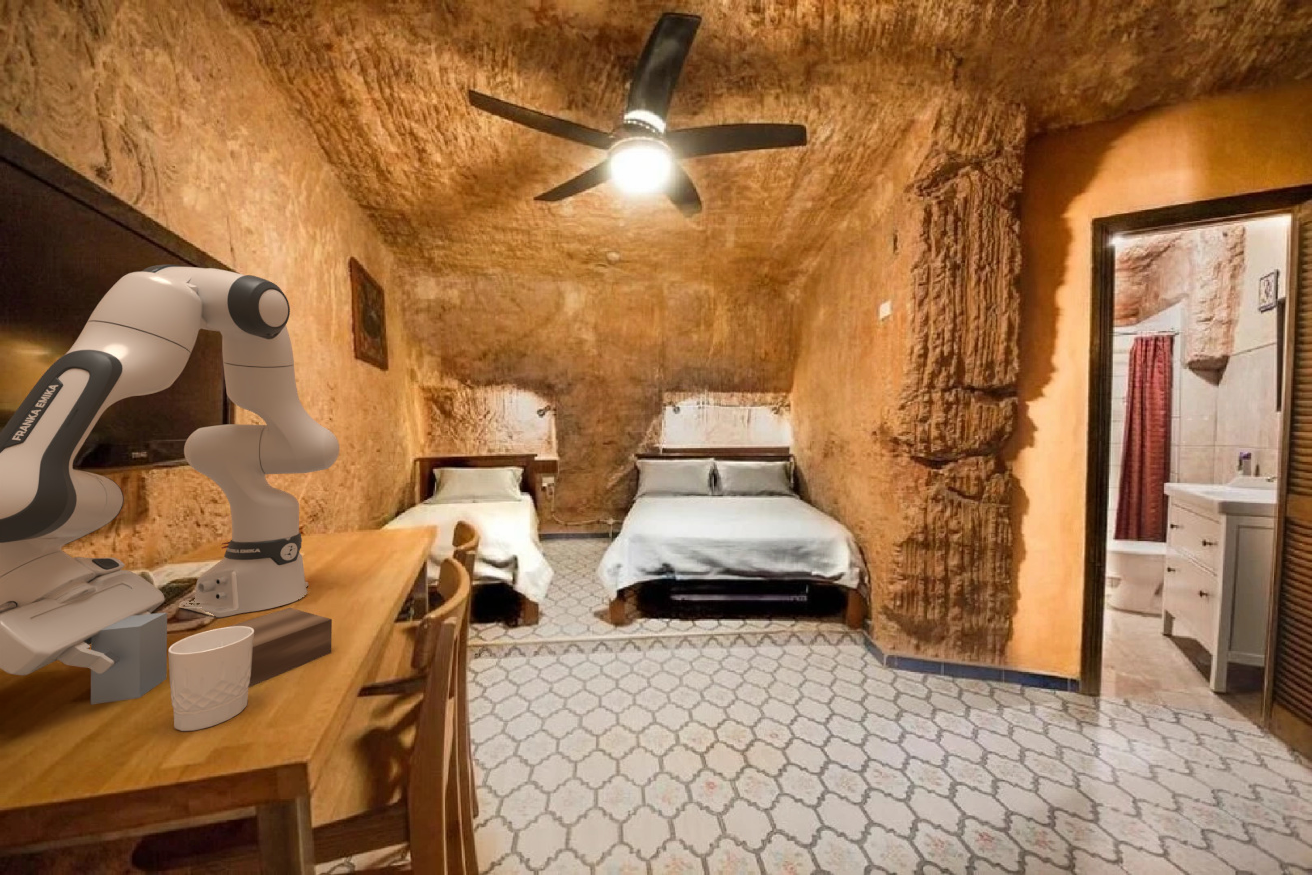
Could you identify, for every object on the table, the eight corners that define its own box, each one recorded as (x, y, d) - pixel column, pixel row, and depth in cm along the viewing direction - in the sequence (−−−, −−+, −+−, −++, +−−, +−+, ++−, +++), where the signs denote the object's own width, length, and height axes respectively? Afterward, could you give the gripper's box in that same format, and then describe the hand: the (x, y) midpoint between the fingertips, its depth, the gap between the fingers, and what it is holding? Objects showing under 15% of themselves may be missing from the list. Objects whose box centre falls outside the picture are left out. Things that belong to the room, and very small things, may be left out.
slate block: (90, 704, 59) (91, 630, 59) (121, 684, 64) (122, 616, 64) (139, 697, 61) (140, 626, 61) (166, 678, 65) (167, 612, 65)
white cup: (219, 694, 61) (220, 624, 61) (269, 699, 61) (269, 627, 61) (148, 732, 54) (149, 651, 54) (204, 737, 53) (205, 655, 53)
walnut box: (199, 673, 67) (199, 635, 67) (289, 640, 78) (289, 607, 78) (241, 692, 63) (242, 650, 63) (331, 654, 74) (331, 619, 74)
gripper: (-23, 600, 50) (91, 671, 53) (126, 554, 70) (203, 608, 73) (-81, 644, 49) (40, 714, 52) (87, 585, 68) (168, 638, 71)
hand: (136, 652), depth 62 cm, fingers open, 7 cm apart
